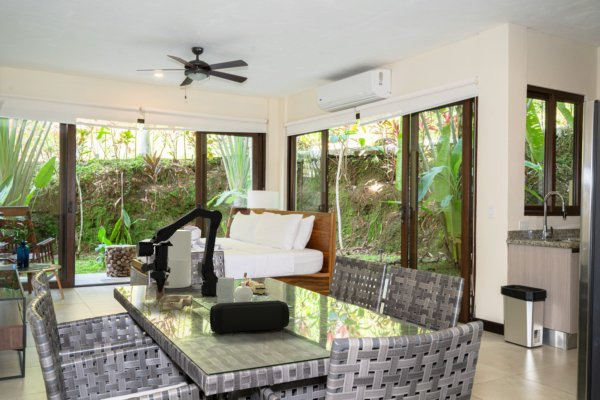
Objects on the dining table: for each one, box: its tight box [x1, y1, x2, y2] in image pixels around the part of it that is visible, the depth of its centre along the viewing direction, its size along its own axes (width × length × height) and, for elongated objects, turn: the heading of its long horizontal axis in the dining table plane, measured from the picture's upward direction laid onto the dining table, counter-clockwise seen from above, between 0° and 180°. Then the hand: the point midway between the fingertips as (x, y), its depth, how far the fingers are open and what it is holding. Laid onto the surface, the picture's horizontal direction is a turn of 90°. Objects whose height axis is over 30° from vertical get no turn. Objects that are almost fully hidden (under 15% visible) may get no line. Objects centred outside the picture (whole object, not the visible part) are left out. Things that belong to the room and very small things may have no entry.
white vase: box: [233, 281, 254, 302], centre depth 192 cm, size 8×8×12 cm
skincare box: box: [216, 276, 235, 304], centre depth 202 cm, size 6×4×12 cm
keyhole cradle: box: [158, 294, 193, 310], centre depth 204 cm, size 12×18×2 cm
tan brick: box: [151, 280, 169, 300], centre depth 217 cm, size 7×3×8 cm, turn 97°
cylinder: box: [156, 229, 192, 289], centre depth 253 cm, size 17×17×28 cm
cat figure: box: [238, 272, 268, 295], centre depth 242 cm, size 10×9×25 cm
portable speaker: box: [209, 299, 291, 335], centre depth 165 cm, size 26×10×10 cm, turn 111°
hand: (160, 291), depth 217 cm, fingers closed on tan brick, 3 cm apart
